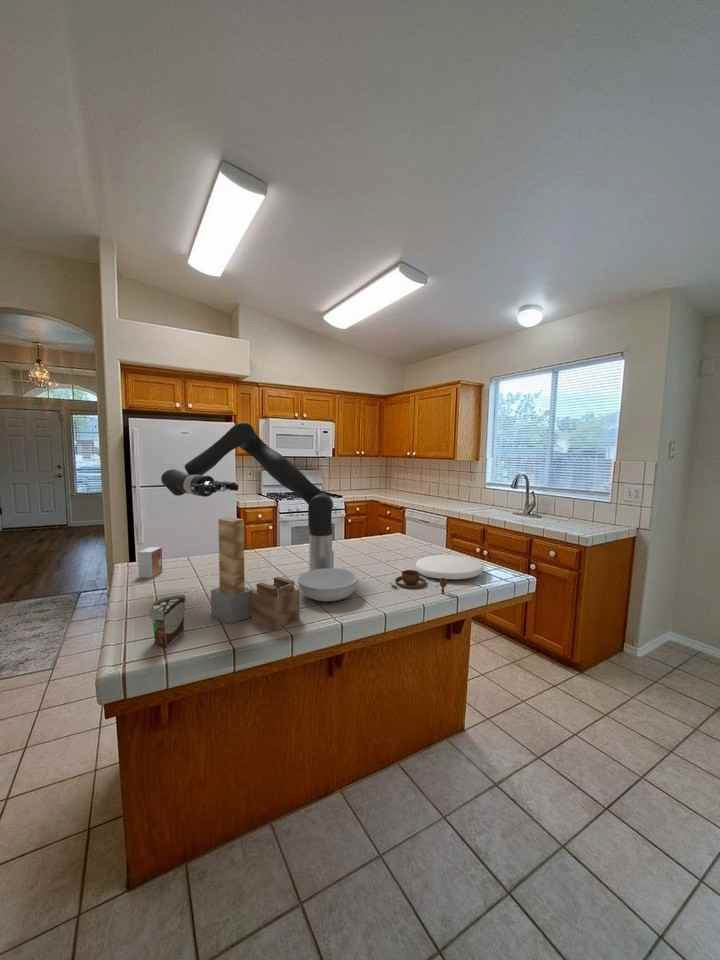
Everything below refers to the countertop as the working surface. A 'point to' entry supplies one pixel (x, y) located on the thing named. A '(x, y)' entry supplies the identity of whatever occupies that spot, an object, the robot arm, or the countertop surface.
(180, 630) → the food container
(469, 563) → the plate
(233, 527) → the oak board
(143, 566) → the small box
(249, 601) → the slate block
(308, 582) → the serving bowl
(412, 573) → the place setting
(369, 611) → the countertop surface
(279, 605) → the walnut rack
